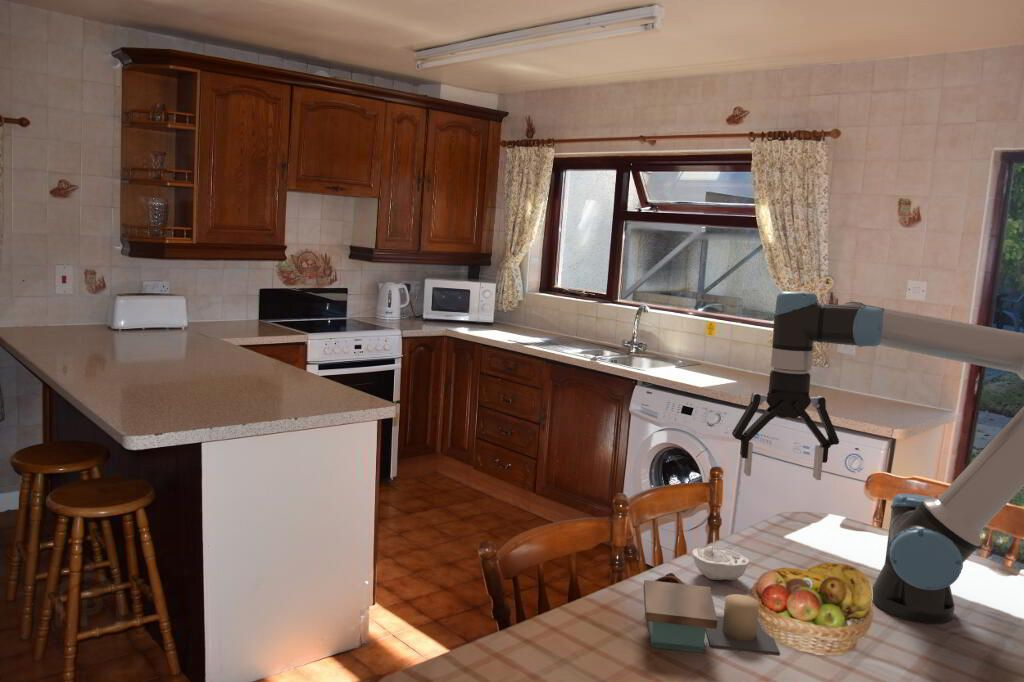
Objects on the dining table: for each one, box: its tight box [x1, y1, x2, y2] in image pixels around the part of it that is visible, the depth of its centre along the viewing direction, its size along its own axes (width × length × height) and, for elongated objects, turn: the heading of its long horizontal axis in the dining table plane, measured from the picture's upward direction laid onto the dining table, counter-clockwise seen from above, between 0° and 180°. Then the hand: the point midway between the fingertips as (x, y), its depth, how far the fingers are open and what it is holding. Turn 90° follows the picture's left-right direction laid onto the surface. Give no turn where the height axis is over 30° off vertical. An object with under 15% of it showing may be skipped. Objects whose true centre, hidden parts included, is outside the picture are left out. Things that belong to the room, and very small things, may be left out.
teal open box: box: [647, 621, 706, 654], centre depth 146 cm, size 9×9×6 cm
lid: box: [643, 579, 718, 629], centre depth 145 cm, size 12×12×2 cm
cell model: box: [691, 545, 751, 581], centre depth 174 cm, size 10×12×7 cm
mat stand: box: [705, 593, 781, 655], centre depth 148 cm, size 12×12×6 cm
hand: (781, 476), depth 161 cm, fingers open, 13 cm apart
